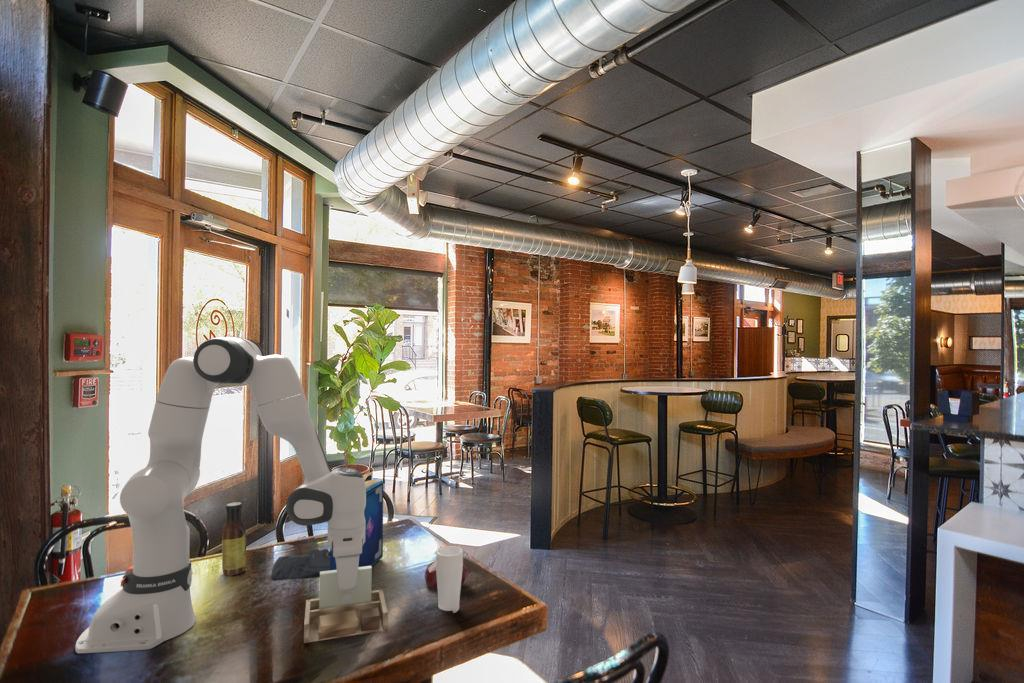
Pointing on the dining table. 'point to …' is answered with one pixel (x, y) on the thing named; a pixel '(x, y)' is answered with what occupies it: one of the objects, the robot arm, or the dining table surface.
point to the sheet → (333, 595)
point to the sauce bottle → (233, 541)
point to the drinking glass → (449, 577)
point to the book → (370, 526)
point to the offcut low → (336, 633)
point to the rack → (314, 612)
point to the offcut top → (338, 621)
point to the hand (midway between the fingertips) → (345, 593)
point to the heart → (432, 577)
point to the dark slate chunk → (301, 565)
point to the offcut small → (370, 619)
